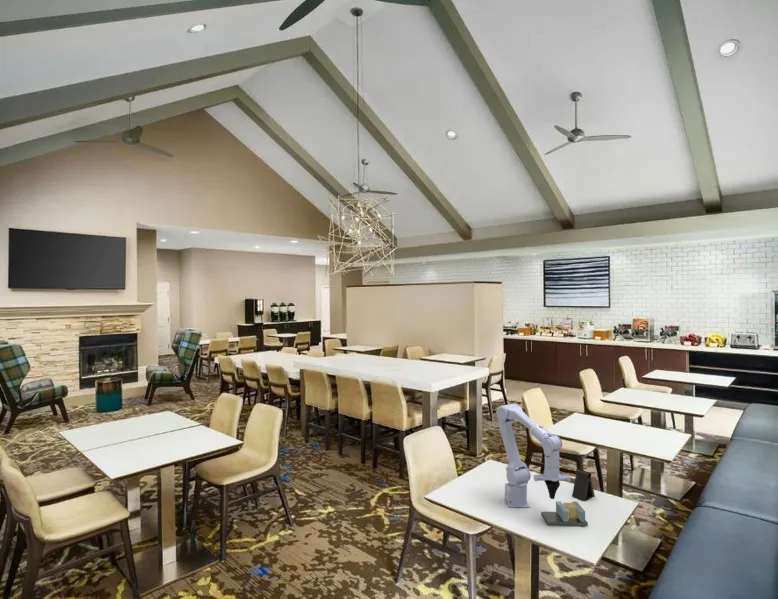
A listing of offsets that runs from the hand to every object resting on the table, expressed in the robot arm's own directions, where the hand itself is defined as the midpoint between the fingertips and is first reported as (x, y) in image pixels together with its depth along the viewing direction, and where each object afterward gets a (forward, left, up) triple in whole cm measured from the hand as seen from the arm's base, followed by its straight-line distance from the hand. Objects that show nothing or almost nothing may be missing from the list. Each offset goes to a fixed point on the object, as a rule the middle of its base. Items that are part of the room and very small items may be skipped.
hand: (551, 497), depth 189 cm
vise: (+5, 0, -9) cm, 11 cm away
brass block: (+8, 0, -8) cm, 11 cm away
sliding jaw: (+4, 0, -8) cm, 9 cm away
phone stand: (+22, +23, -10) cm, 33 cm away
